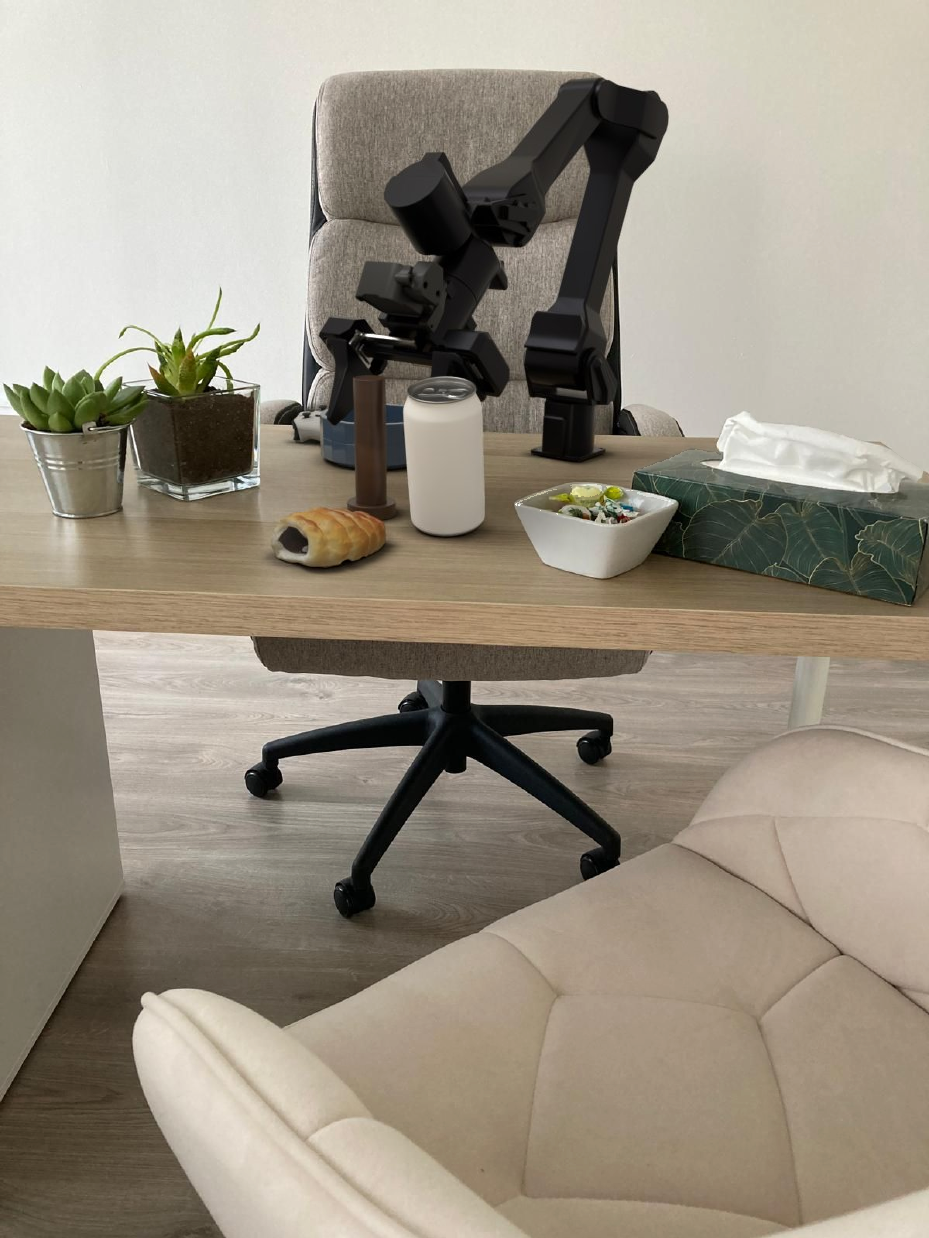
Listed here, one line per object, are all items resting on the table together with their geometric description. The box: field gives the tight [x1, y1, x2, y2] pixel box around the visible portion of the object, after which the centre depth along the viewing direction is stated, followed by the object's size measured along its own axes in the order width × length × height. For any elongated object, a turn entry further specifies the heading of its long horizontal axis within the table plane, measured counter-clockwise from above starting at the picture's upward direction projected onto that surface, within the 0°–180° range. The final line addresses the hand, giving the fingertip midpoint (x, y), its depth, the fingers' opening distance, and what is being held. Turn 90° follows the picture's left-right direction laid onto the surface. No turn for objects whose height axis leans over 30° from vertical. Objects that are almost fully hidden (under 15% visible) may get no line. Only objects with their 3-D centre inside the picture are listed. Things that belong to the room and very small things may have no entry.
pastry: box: [270, 506, 387, 569], centre depth 82 cm, size 9×7×4 cm
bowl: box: [319, 403, 407, 470], centre depth 113 cm, size 12×12×5 cm
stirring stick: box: [346, 375, 397, 521], centre depth 91 cm, size 4×4×12 cm
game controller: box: [291, 404, 328, 443], centre depth 123 cm, size 10×5×6 cm
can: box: [403, 376, 486, 538], centre depth 86 cm, size 6×6×12 cm
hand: (367, 429), depth 90 cm, fingers open, 9 cm apart
